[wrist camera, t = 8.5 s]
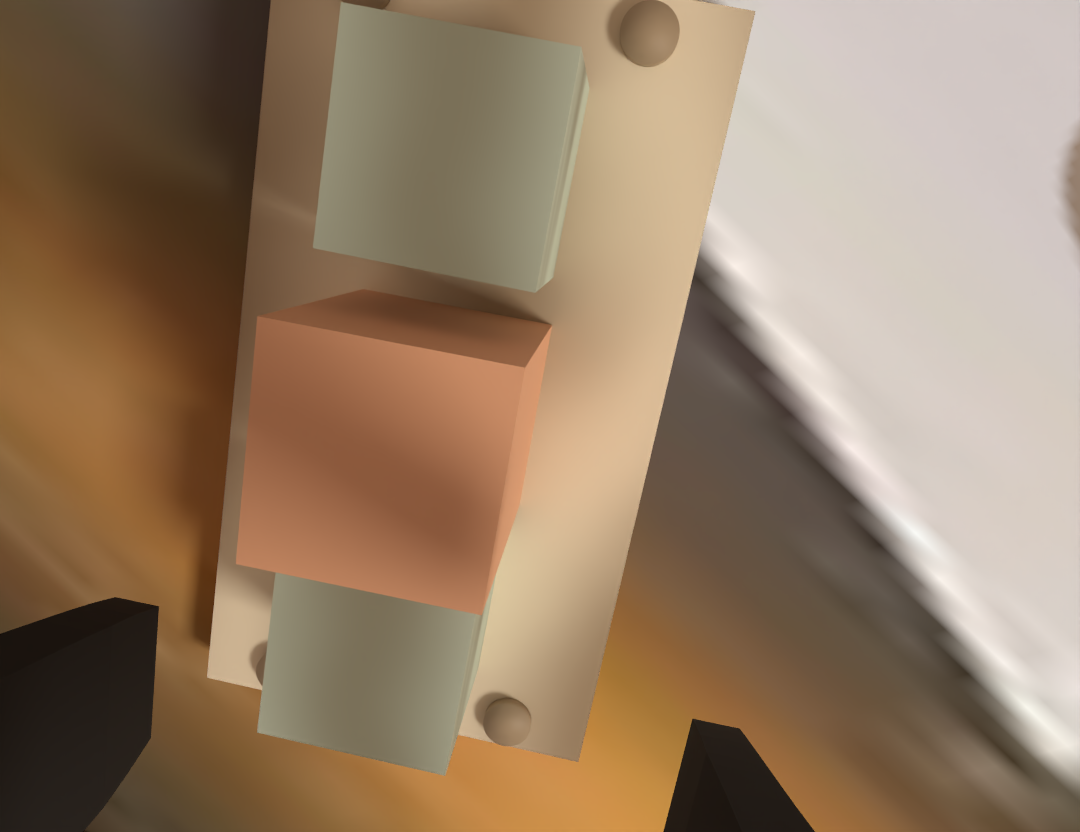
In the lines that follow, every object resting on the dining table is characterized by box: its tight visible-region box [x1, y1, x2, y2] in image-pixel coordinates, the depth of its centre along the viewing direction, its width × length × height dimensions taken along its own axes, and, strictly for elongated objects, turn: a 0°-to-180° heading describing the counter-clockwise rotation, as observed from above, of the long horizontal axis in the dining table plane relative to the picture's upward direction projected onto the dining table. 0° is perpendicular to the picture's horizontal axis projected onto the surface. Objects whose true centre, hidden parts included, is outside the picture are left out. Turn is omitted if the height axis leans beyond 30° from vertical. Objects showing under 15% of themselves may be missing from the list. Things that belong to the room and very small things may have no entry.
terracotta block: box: [236, 289, 552, 615], centre depth 16 cm, size 4×4×6 cm
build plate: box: [207, 0, 755, 776], centre depth 17 cm, size 10×18×5 cm, turn 169°
